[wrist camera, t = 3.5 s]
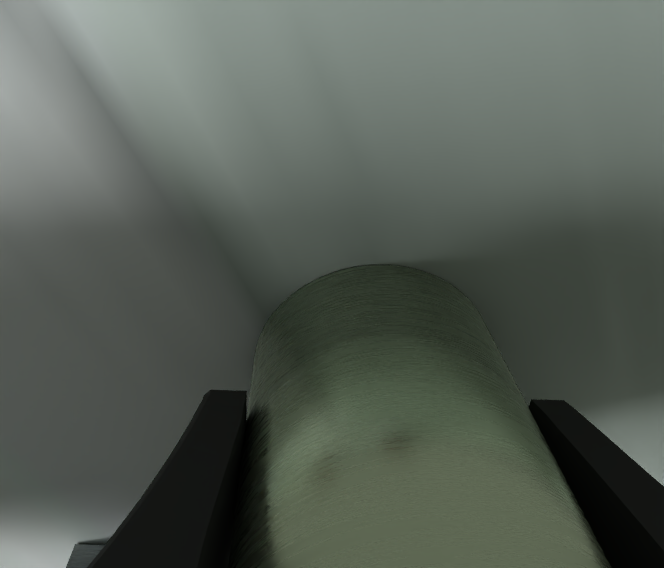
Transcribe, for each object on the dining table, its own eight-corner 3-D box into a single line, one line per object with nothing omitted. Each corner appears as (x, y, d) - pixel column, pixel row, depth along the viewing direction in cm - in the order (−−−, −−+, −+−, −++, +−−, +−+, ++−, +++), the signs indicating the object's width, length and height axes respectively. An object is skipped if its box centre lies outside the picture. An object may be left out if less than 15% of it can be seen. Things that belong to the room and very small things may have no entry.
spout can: (252, 451, 12) (198, 968, 6) (255, 258, 10) (168, 785, 4) (464, 455, 13) (627, 943, 6) (516, 271, 10) (867, 764, 4)
